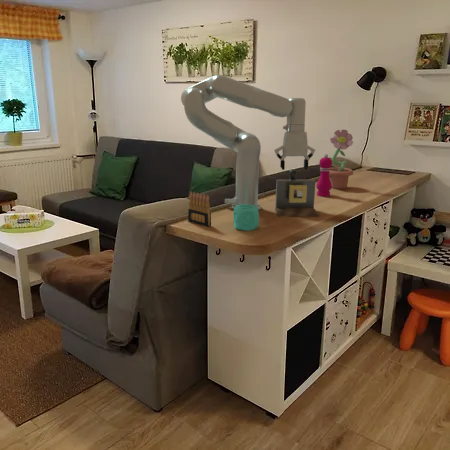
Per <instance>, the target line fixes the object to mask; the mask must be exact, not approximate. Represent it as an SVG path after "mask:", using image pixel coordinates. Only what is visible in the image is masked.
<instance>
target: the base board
mask: <svg viewBox="0 0 450 450" xmlns="http://www.w3.org/2000/svg"><path fill="white" fill-rule="evenodd" d="M274 211H275V212H276V213H277V215H278V216H279V217H285V218H286V217H287V218H288V217H296V218H297V217H319V216H320V213H319V212H318V211H317V210H316V209H315V207H314V208H276V207H275V208H274Z"/></svg>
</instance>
